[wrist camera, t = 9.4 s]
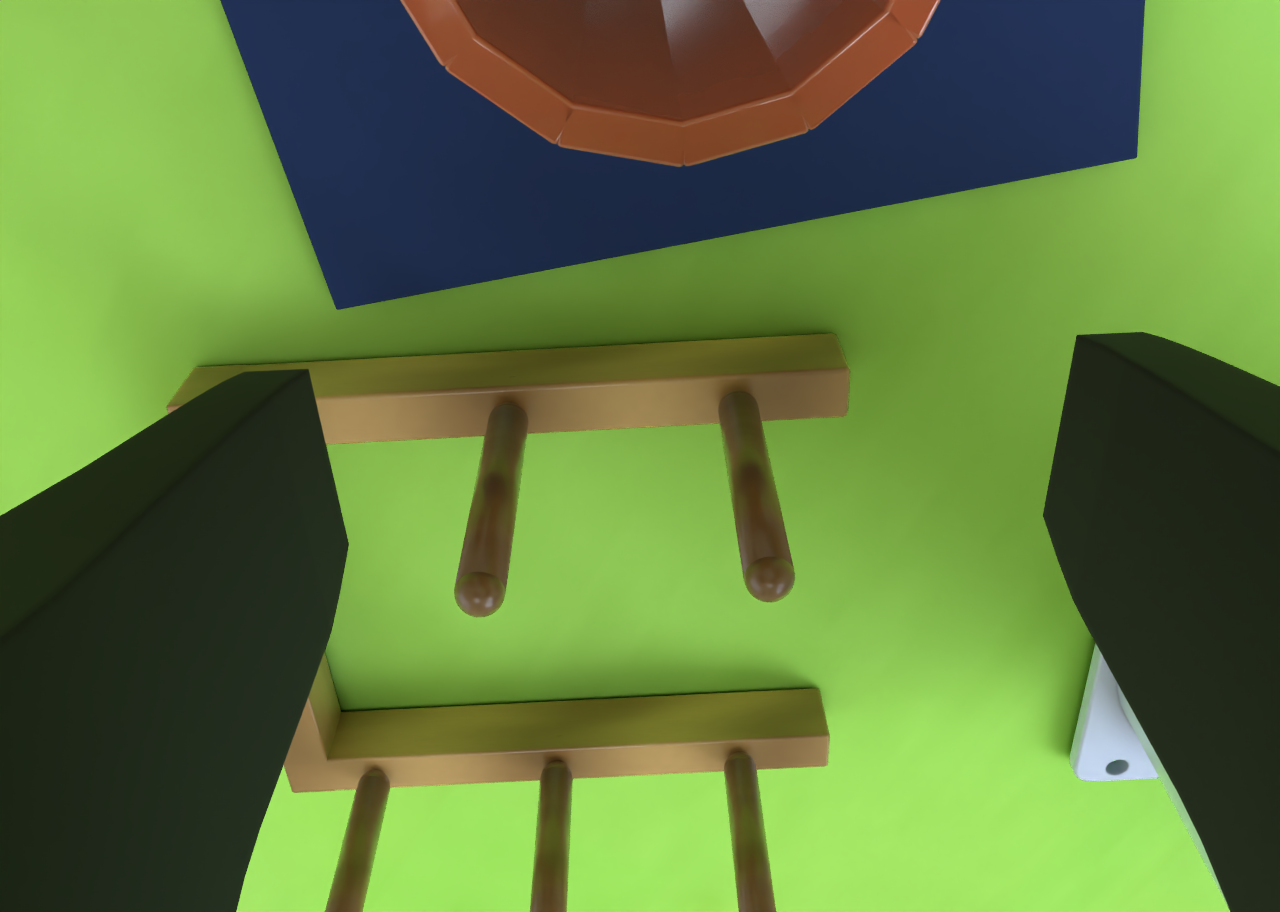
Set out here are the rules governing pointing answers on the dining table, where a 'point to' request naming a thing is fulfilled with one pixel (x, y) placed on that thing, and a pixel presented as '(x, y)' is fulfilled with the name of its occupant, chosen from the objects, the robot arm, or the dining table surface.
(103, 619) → the robot arm
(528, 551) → the dining table surface
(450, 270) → the cloth
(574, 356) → the drying rack
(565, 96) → the tumbler
